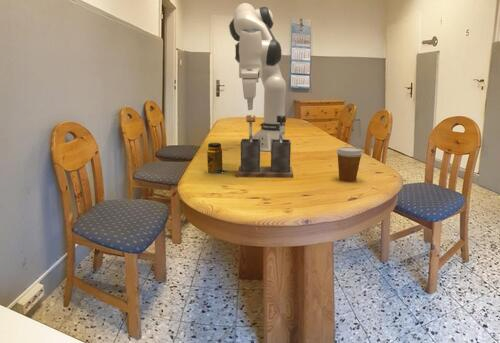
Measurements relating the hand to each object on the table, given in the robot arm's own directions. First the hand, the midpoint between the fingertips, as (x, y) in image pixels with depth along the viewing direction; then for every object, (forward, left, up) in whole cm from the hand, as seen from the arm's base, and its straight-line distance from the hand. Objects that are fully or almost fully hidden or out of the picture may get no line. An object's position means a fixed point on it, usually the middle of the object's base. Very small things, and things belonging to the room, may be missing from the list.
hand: (250, 109), depth 146 cm
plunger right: (+11, +6, -15) cm, 19 cm away
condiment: (-13, -6, -26) cm, 29 cm away
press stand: (+5, +3, -26) cm, 26 cm away
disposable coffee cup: (+36, +13, -26) cm, 47 cm away
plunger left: (0, 0, -14) cm, 15 cm away
